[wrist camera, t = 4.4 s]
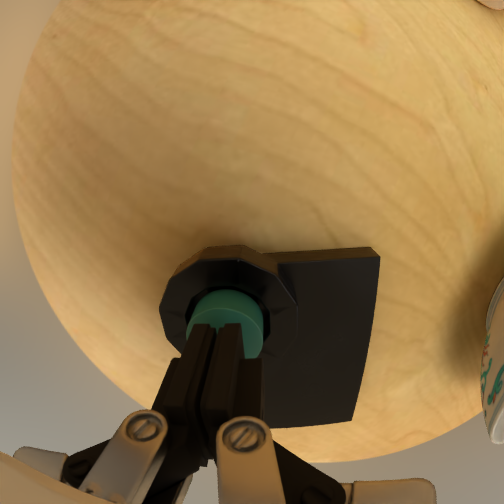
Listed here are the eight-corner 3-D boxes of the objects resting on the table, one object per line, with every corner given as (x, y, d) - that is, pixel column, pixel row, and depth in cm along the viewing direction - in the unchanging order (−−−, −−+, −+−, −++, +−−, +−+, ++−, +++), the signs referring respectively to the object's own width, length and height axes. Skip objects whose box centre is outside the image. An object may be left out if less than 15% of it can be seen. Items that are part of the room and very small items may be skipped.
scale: (209, 413, 18) (202, 445, 15) (169, 240, 14) (147, 262, 11) (348, 406, 17) (356, 438, 15) (371, 228, 13) (396, 248, 10)
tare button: (200, 346, 13) (193, 368, 11) (188, 290, 12) (178, 308, 10) (265, 345, 13) (264, 368, 11) (260, 287, 12) (260, 306, 10)
